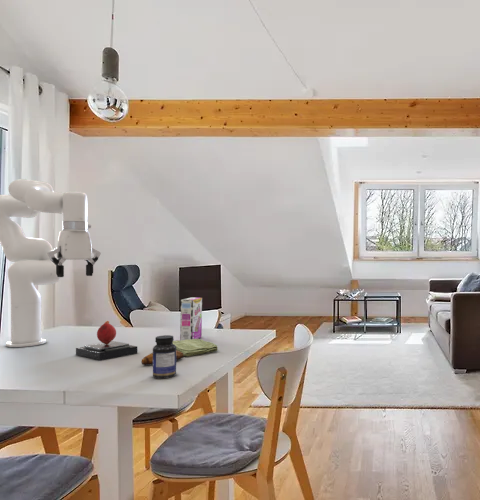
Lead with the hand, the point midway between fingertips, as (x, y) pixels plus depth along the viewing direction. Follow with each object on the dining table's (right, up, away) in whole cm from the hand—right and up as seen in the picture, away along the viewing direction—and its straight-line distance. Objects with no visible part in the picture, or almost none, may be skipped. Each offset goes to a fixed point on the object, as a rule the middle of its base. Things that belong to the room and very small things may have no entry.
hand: (75, 276), depth 166 cm
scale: (+13, -26, -4) cm, 30 cm away
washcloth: (+40, -26, +1) cm, 48 cm away
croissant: (+37, -26, -17) cm, 48 cm away
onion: (+13, -23, -4) cm, 27 cm away
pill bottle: (+44, -26, -33) cm, 61 cm away
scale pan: (+13, -24, -4) cm, 27 cm away
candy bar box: (+33, -27, +22) cm, 48 cm away
